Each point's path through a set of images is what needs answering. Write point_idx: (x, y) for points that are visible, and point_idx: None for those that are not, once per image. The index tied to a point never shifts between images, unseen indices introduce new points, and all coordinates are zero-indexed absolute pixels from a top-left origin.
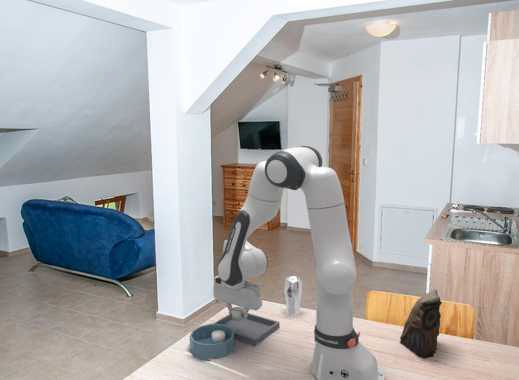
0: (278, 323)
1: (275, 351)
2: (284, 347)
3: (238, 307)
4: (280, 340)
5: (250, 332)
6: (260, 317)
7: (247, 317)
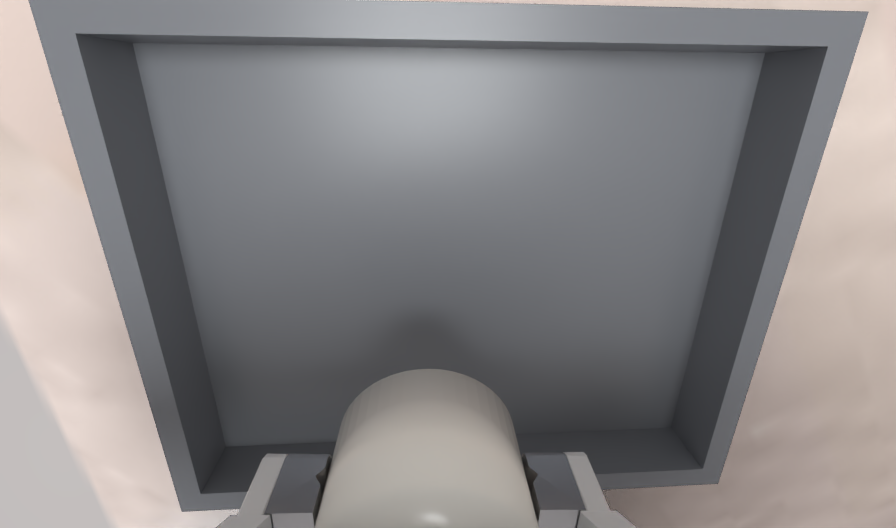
0: (846, 44)
1: (831, 388)
2: (891, 309)
3: (382, 525)
4: (836, 231)
5: (542, 301)
6: (550, 36)
7: (315, 44)
